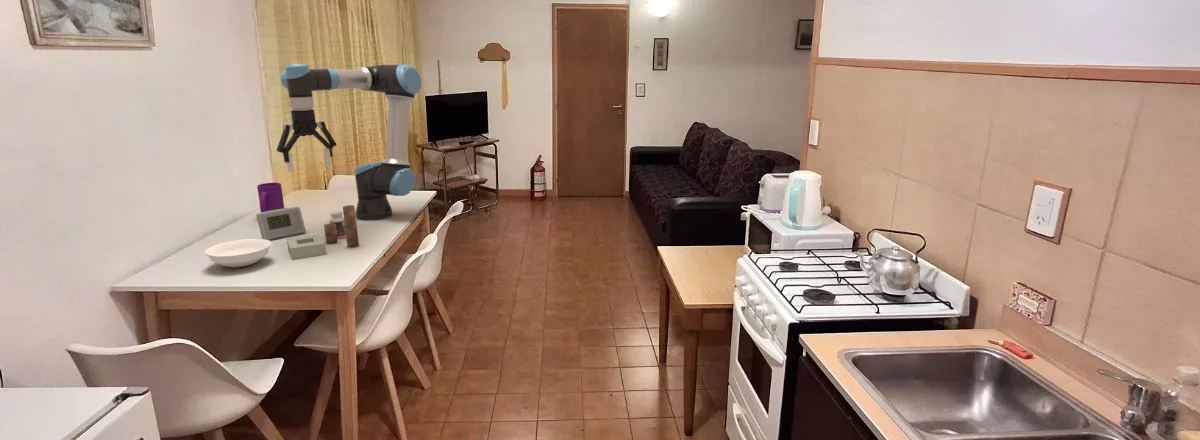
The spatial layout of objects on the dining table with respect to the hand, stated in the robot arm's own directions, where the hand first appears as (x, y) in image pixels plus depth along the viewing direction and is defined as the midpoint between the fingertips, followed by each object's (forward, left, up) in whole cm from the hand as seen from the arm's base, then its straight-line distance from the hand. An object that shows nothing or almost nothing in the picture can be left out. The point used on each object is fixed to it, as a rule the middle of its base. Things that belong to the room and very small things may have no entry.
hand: (310, 168), depth 229 cm
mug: (+13, -50, -29) cm, 59 cm away
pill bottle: (-8, -7, -29) cm, 31 cm away
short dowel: (-4, 0, -28) cm, 29 cm away
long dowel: (-10, +9, -28) cm, 31 cm away
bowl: (+26, +11, -29) cm, 40 cm away
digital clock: (+11, -20, -29) cm, 37 cm away
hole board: (+5, +7, -28) cm, 30 cm away
